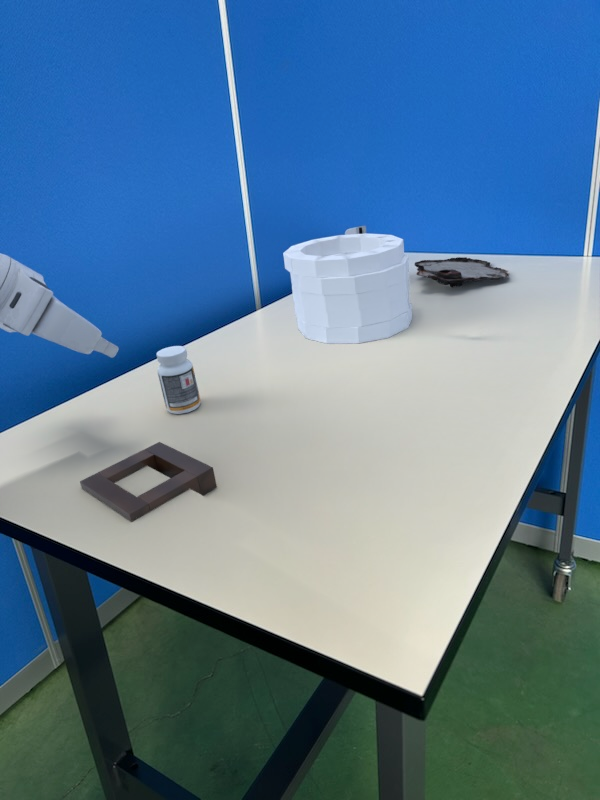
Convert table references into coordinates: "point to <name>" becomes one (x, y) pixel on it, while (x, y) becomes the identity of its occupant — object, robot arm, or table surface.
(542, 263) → the table surface
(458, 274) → the scrap metal
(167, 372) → the pill bottle
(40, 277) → the robot arm
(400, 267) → the container
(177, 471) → the frame
